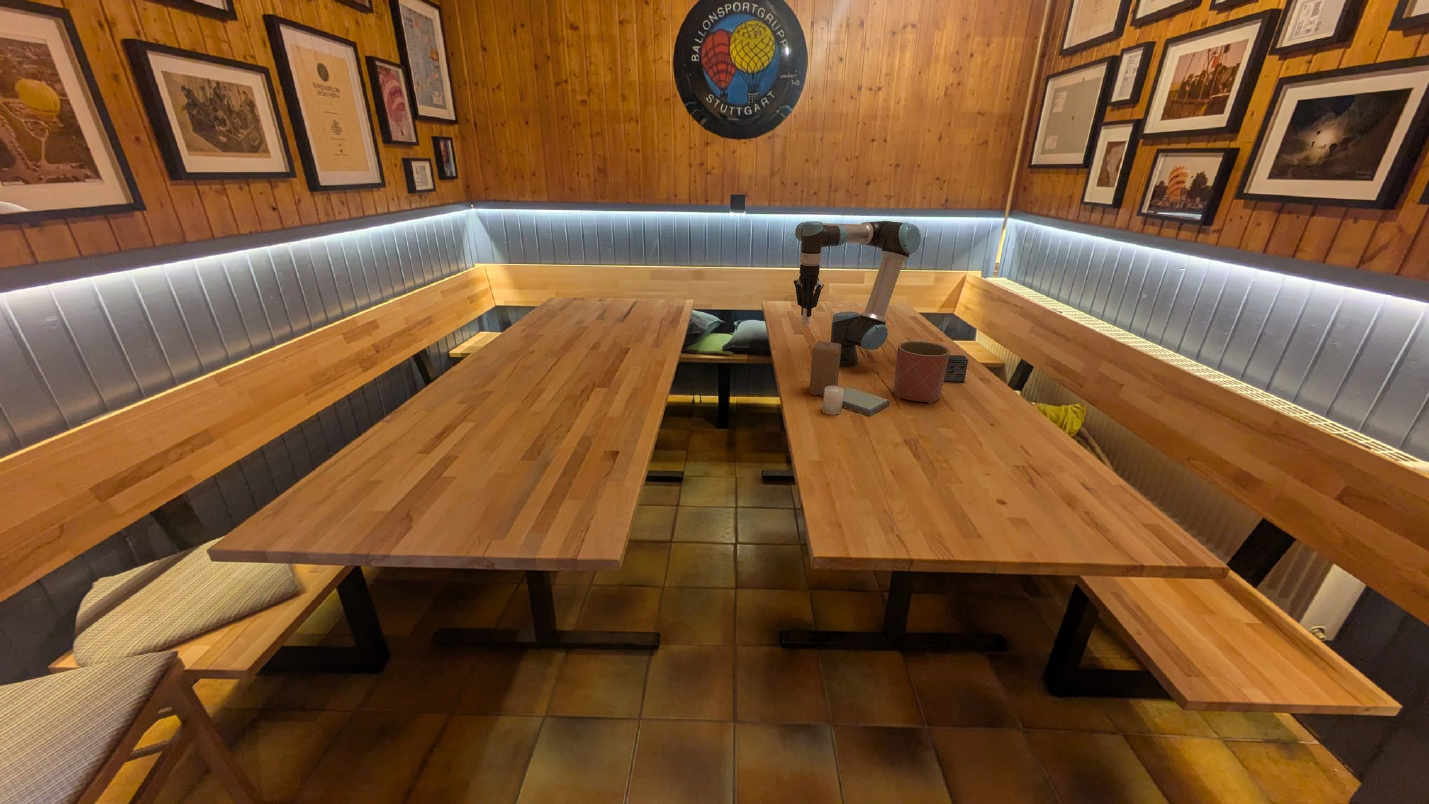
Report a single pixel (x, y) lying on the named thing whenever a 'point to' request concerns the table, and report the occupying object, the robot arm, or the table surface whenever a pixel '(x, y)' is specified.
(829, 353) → the wooden block
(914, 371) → the planter
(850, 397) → the grey rectangular slab
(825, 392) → the white rounded cylinder
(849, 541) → the table surface
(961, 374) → the small box
